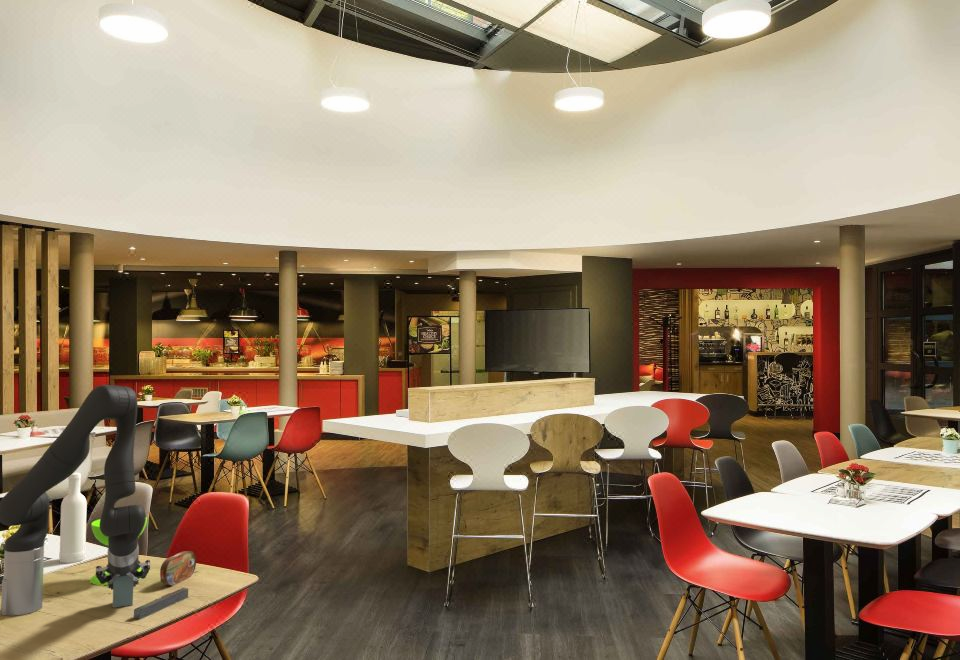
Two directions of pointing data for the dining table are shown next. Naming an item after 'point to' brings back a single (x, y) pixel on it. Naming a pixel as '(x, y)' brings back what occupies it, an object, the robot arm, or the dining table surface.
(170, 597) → the price rail
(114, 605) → the carton
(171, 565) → the tin
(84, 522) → the bottle
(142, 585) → the dining table surface
